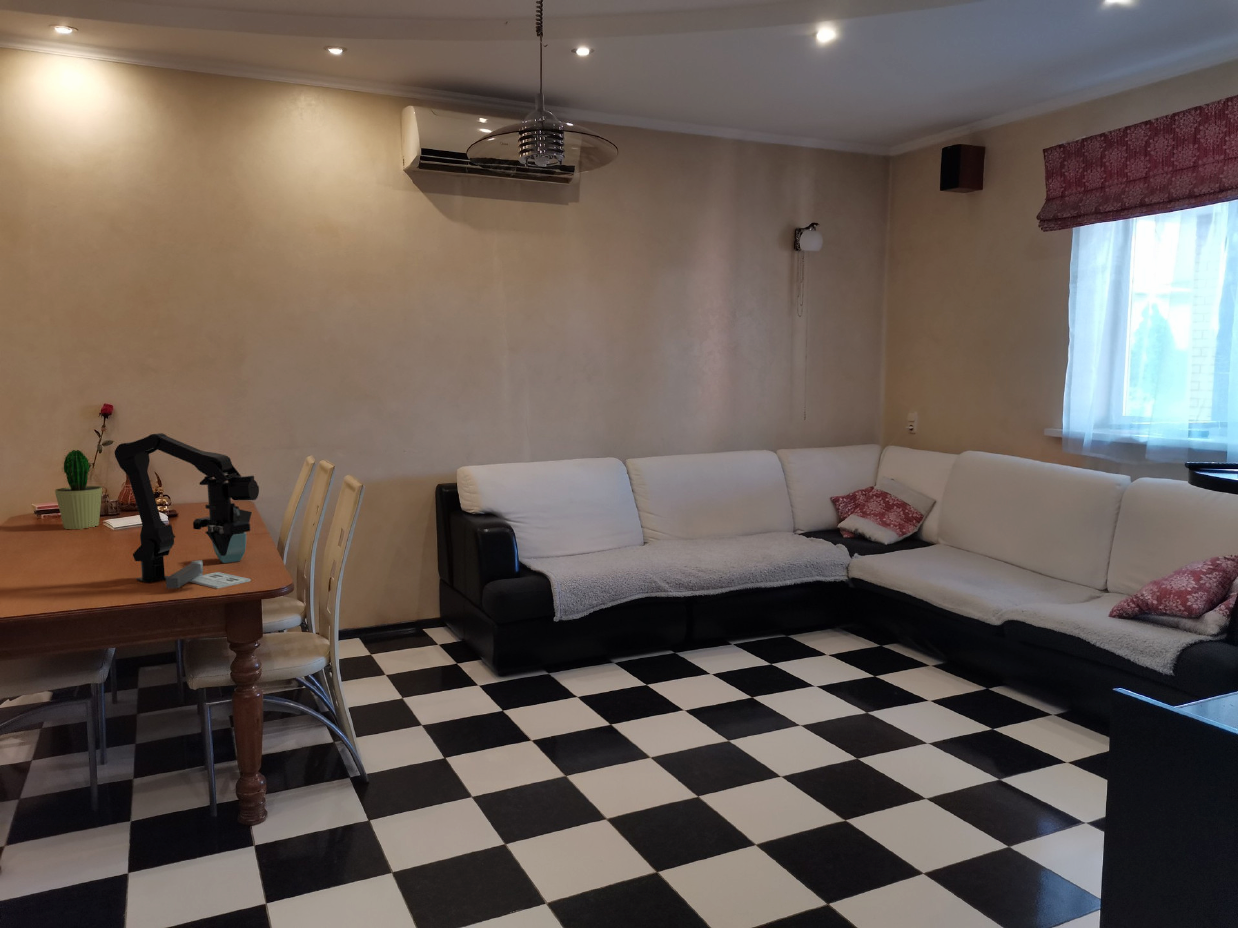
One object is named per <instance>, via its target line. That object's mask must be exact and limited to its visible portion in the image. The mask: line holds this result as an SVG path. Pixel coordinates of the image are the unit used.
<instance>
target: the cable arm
mask: <svg viewBox="0 0 1238 928" xmlns="http://www.w3.org/2000/svg"><path fill="white" fill-rule="evenodd" d="M203 564H204V563H203V560H199V559H198V560H192V561H191V562H190V563H189V564H187V565H185V566H183V567H182V568H180V569H178V570H177V571H176V572H174V573H173V574H172V573H171V575H168V576H169V577H167V578H166V579H165V584H166V589H179V588H180V587H183V586H184V585H186V584H187V583H190V582H189V581H190V580H192V579H193V578H195V577H196V576H198V575H199V574H201V573H202V574H203V573H204V565H203Z"/></svg>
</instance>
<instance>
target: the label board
mask: <svg viewBox="0 0 1238 928" xmlns="http://www.w3.org/2000/svg"><path fill="white" fill-rule="evenodd" d="M248 582H251V578H247V577H244V576H243V577H242V576H238V575H233V574H229V573H223V572H220V571H216V572H211V573H207V574H203V572H202V573H201V574H199V575H198V576H196V577H195V578H193V579H192V580H190V581H189V582H188V583H193V584H196V585H199V586H200V585H201V586H204V587H209V588H214V589H217V590H218V589H222V588H227V587H230V586H236V585H240V584H244V583H248Z"/></svg>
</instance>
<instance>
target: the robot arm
mask: <svg viewBox="0 0 1238 928" xmlns="http://www.w3.org/2000/svg"><path fill="white" fill-rule="evenodd" d="M156 451H160V452H162V453H165V454H167V455H169V456H172V457H175V458H177V459H179V460H182V461H184V462H186V463H189V464H190V465H192V466H193V467H195V468H196V469H197V470H198V471H199V472H200V473H202V474H203V475H205V476H204V478H203V479H202V480H201V481H200V482H199V483H198V484H199V486H200V485H201V486H207V498H208V504H205V505H204V506H205V509H207V510H208V512H209V513H208V514H209V515H208V516H204V517H198V518H195V519H194V520H193V522H192V527H193V530H201V529H203V528H207V531H205V532H204V533H205V534H206V535H207V536H208V537H209V539H210V540H211V543H212V542H213V543H214V545H215V547H216V548H217V550H218V552H219V553H220V555H221V556H225V555H226V553H227V550H228V546H229V543H230V540H231V537H232V536H233V535H234V534H237V533H242V532H245V533H247V532H251V523H250V520H251V519H252V518H251V516H252V513H253V512H252V511H250V510H244V509H240V507H239V506H236V504H235V502H232V501H256V500H258V497H259V493H260V486H259V485H258V481H256V480H255V475H247V476H243V475H241V473H240V472H239V471H238V470H237V469H236V467H235V466H234V464H233V463H232V460H231V458H230V456H227V455H226V454H222V453H217V452H212V451H211V452H210V451H205V450H200V449H198V448H197V447H194V446H191V445H189V444H187V443H184V442H182V441H180V440H177V439H174V438H173V437H170V436H167V434H165V433H162V432H160V433H159V432H158V433H153V434H152V433H151V434H149V435H148V436H145V437H143V438H140V439H138V440H134V441H130V442H122V443H120V444H118V445H117V447H116V448H115V450H114V458H115V459H116V461H117V463H118V465H119V468H120V469H122V471H123V472H124V473H125V474H126V476H127V477H128V480H129V484H130V487H131V489H132V494H133V498H134V500H135V503H136V507H137V511H138V514H139V517H140V518H139V519H140V521H141V529H140V530H141V531H140V534H139V537H140V546H138V548H137V549H136V550H135V551H133V553H132V557H133V559H134V561H135V562H140V566H141V567H140V568H141V577H137V578H136V581H139V582H143V583H149V584H150V583H154V582H159V581H164V580H165V581H166V578H167V577H169V576H170V575H165V574H166V573H165V572H166V571H165V562H164V560H165V559H164V557H165V556H169V554H170V552H171V549H172V548H173V546H174V545H175V538H176V535H175V534H174V532H173V531H174V530H173V526H172V524H171V523H169V524H165V522H164V521H163V520H162V519H161V514H160V511H159V508H158V504H157V500H156V497H155V494H154V493H155V492H154V491H153V486H152V483H151V480H150V479H151V478H150V476H149V473H148V471H149V465H150V460H151V459H150V454H153V453H155V452H156Z"/></svg>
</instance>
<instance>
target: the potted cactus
mask: <svg viewBox="0 0 1238 928" xmlns="http://www.w3.org/2000/svg"><path fill="white" fill-rule="evenodd" d="M83 451H84V450H78V449H73V450H68V453H66V455H64V457H62V459H63V465H62V466H61V469H63V474H65V477H66V481H65V484H66V483H67V485H68V487H61V488H56V489H55V490H54V492H55V497H56V502H57V505H58V509H59V513H60V518H61V521H62V526H63V529H64V528H65V529H64V530H66V529H80V530H84V529H83V528H88V527H95V526H98V525H100V515H101V503H102V502H101V501H102V493H103V490H102V489H103V486H100V485H88V484H89V481H88V480H90V477H89V476H90V473H91V472H90V470H91V467H92V464H91V463H93V462H91V463H89V460H88V458H87V456H86V455H87V454H85V452H83ZM98 527H99V526H98ZM95 528H96V527H95Z"/></svg>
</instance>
